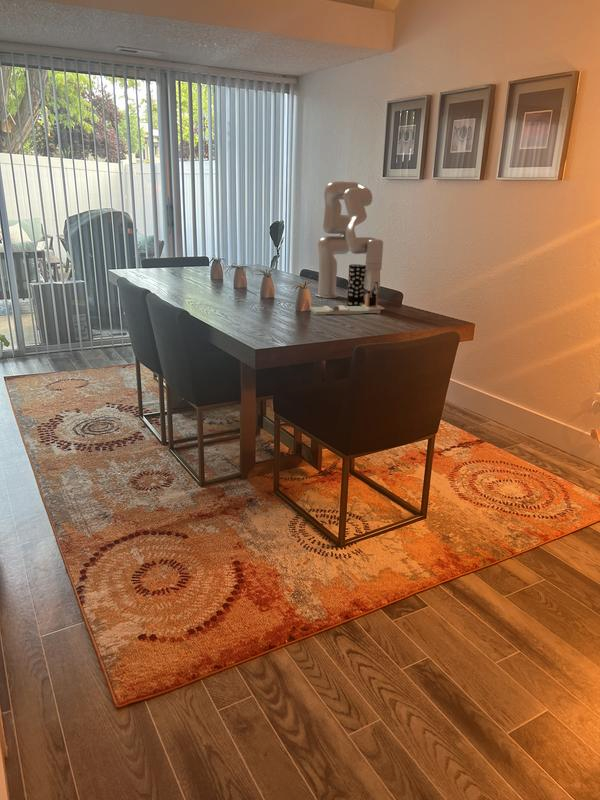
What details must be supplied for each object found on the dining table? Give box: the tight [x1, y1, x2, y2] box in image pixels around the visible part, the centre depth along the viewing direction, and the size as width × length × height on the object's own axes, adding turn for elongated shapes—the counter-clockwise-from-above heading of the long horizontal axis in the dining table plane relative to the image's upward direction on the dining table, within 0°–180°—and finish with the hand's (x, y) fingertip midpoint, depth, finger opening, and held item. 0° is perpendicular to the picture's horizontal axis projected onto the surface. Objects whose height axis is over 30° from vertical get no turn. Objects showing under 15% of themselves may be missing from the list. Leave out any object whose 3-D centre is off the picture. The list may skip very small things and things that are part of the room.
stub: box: [361, 292, 385, 310], centre depth 289 cm, size 10×8×7 cm
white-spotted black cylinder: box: [346, 264, 366, 306], centre depth 299 cm, size 8×8×20 cm
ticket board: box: [309, 301, 382, 316], centre depth 287 cm, size 12×32×4 cm, turn 104°
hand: (370, 304), depth 290 cm, fingers closed on stub, 3 cm apart
